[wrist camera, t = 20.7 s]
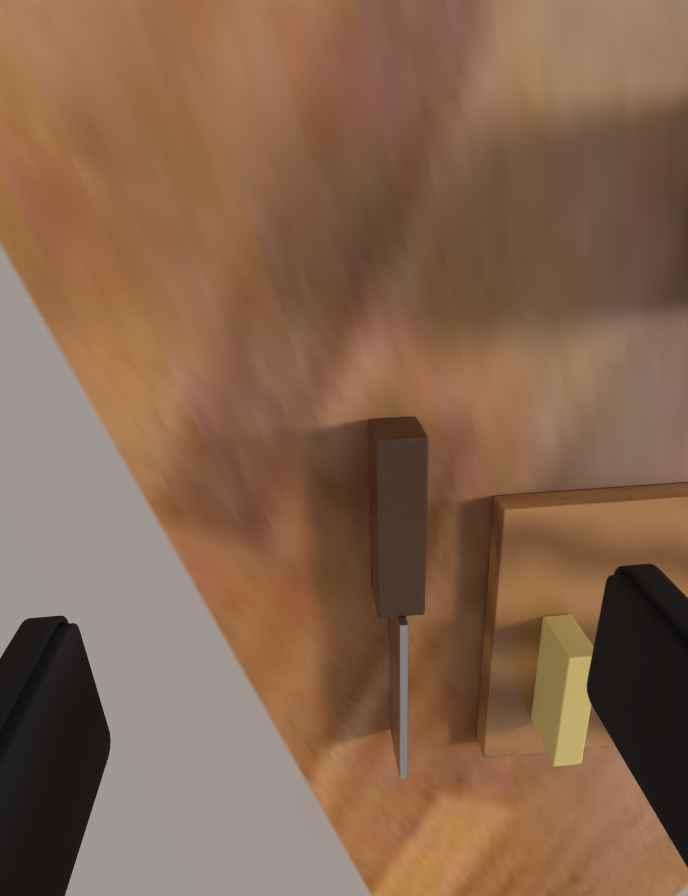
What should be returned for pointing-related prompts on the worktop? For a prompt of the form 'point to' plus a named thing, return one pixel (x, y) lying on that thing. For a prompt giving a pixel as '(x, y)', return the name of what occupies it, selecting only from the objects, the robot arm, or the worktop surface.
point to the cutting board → (563, 587)
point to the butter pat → (562, 689)
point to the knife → (398, 548)
